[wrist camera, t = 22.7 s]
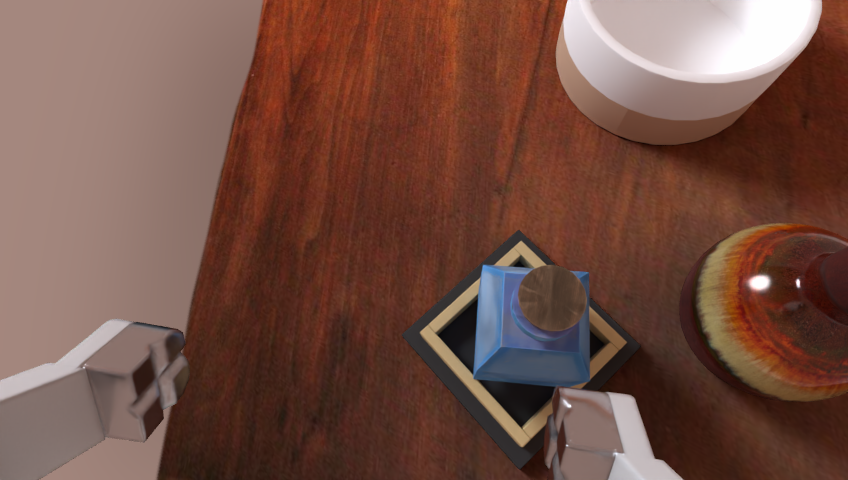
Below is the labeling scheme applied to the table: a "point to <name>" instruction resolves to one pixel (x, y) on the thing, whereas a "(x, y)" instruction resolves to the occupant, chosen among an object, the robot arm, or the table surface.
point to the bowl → (677, 61)
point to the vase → (772, 311)
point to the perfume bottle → (533, 326)
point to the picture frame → (504, 401)
